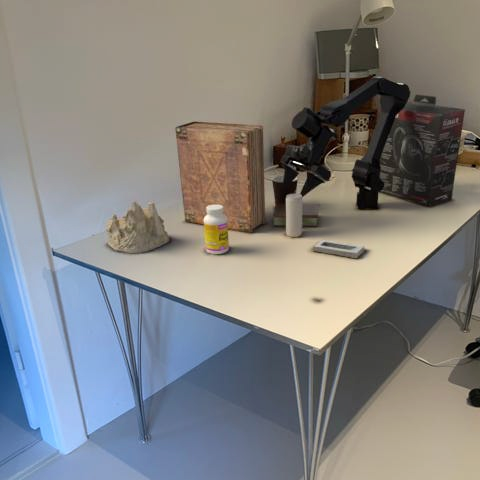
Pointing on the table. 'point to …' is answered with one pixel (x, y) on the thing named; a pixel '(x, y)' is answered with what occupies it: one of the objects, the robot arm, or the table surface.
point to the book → (222, 172)
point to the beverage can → (294, 215)
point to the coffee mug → (279, 192)
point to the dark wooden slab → (308, 215)
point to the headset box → (422, 152)
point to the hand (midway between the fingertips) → (291, 193)
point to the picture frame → (339, 249)
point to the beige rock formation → (137, 230)
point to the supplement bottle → (216, 230)
